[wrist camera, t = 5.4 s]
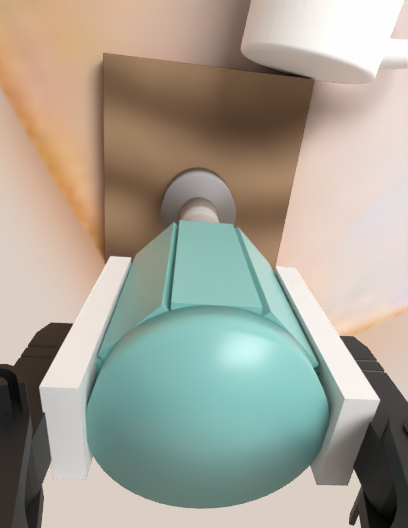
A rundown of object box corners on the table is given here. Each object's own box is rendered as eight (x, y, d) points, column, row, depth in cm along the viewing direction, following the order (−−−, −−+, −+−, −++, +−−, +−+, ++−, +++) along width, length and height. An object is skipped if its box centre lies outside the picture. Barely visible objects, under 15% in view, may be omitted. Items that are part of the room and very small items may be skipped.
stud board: (107, 55, 23) (57, 25, 15) (309, 80, 25) (373, 66, 16) (108, 289, 31) (75, 361, 22) (263, 301, 32) (291, 374, 23)
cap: (133, 216, 13) (77, 324, 7) (277, 227, 13) (357, 338, 7) (133, 337, 15) (91, 506, 9) (256, 343, 15) (302, 510, 9)
